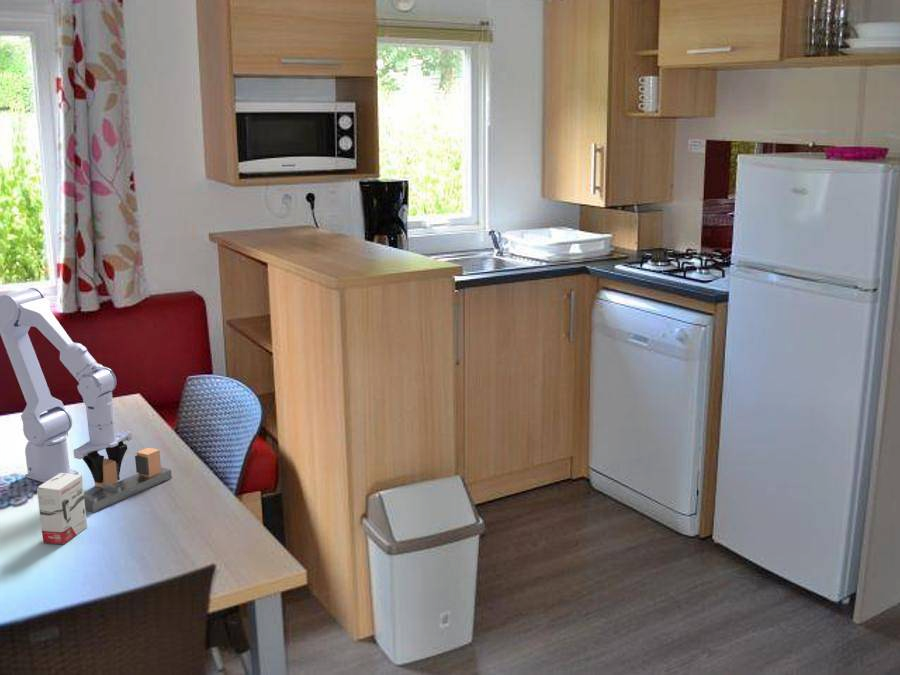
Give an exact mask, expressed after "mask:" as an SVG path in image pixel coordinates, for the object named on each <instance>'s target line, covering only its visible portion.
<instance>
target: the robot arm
mask: <svg viewBox="0 0 900 675" xmlns="http://www.w3.org/2000/svg"><path fill="white" fill-rule="evenodd" d="M31 327H34V328H36V329H37V330H38V331H40V333H41V334H42V335H43V336H44V337H45V338H46V339H47V340H48V341H49V342H50V343H51V344H52V345H53V346H54V347H55V348H56V349H57V350H58V351H59V360H60V362H61V363H62V365H63V366H64V367H65V368H66V369H67V370H68V372H69V373H70V374H71V375H72V376H73V377H74V379H75V380H76V381H77V382H78V384H77V385H76V387H77V390H78V393H79V395H81V397H82V400H83V402H82V403H83V404H84V406H85V412H86V420H87V430H88V437H89V440H88V441H86V442H85V443H83V444H82V445H80V446H79V447H77V448H74V449H73V457H74V458H73V459H79V460H83V462H85V464H86V467H87V468H88V469H89V471H90V473H91V475H92V478H93V482H94V483H95V482H97V483H102V482H103V460H104V459H105V456H104V455H101V454H100V453H99V452H101V451H103V450H105V452H106V455H107V459H110V460H114V461H116V463H118V467H119V475H121V474H120V473H121V467H122V463H123V460H124V456H125V454H126V453H127V450H128V445H127V444H126V443H124V442H126V441H128V442H129V441H132V440H133V434H132V431H128V430H123V431H119V432H117V431H116V424H115V423H116V421H115V412H114V410H115V409H114V403H113V402H114V401H113V391H114V390H115V389H116V386H117V378H116V375H115V373H114V372H113V369H111V368H109V367H107V366H103V365H102V364H101V363H98V362H97V360H96V359H95V358H94V357H93V356H92V354H90V352H89V351H88V349H87V347H86V346H84V345H83V344H82V343H79V342H74V341H73V340H72V338H71V337H70V336H69V334H67V332H66V330H65V329H64V327H63V326H62V325H61V324H60V322H59V320H58V318H56V317H55V315H54V313H53V312H52V311H51V302H50V300H49V299H48V298H46V296H45V294H44V293H43V292H42V291H41V290H40V289H39V288H36V287H30V288H28V289H25V290H21V291H17V292H12V293H8V294H2V295H0V337H1V339H2V342H3V345H4V348H5V349H6V353H7V356H8V358H9V361H10V363H11V366H12V369H13V371H14V374H15V377H16V379H17V381H18V384H19V387H20V389H21V392H22V395H23V397H24V400H25V402H26V406H25V408H24V409H23V411H22V413H21V415H20V418H21V421H22V430H23V431H22V432H23V435H24V437H25V439H26V440H27V441H28V442H27V443H26V445H25V450H24V454H25V459H26V460H25V462H26V468H27V469H26V470H27V471H26V472H27V473H25V474H24V477H25V478H28V479H31V480H34V481H38V482H41V483H45V482H46V481H48V480H49V479H51V478H53V477H54V476H56V475H58V474H59V473H68V474H78V475H79V471H78V470H76V469H71V468H70V458H69V449H68V448H69V447H68V441H67V437H69V431H71V429H72V427H73V418H72V416H71V414H70V412H69V411H68V410H67V409H66V407H65V406H64V403H63V401H62V400H60V399H58V398H56V397H54V396H53V395H51V391H50V388H49V386H48V384H47V381H46V378H45V375H44V373H43V372H44V371H42V370H43V369H42V368H41V365H40V362H39V360H38V357H37V354H36V351H35V349H34V346H33V344H32V341H31V339H30V335H29V331H30V329H31Z"/></svg>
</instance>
